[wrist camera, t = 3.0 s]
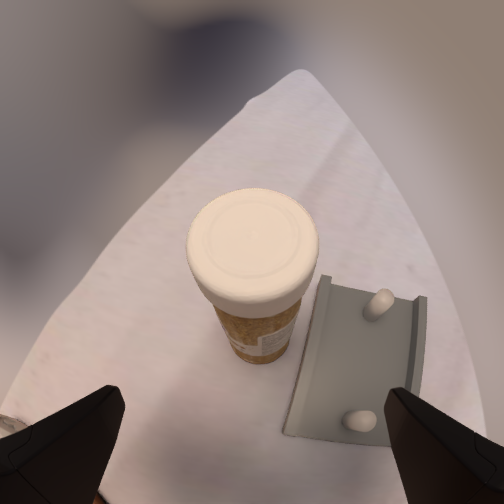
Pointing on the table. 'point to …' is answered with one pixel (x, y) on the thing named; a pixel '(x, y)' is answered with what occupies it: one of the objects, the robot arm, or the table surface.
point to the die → (9, 426)
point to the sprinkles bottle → (254, 267)
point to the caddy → (356, 363)
